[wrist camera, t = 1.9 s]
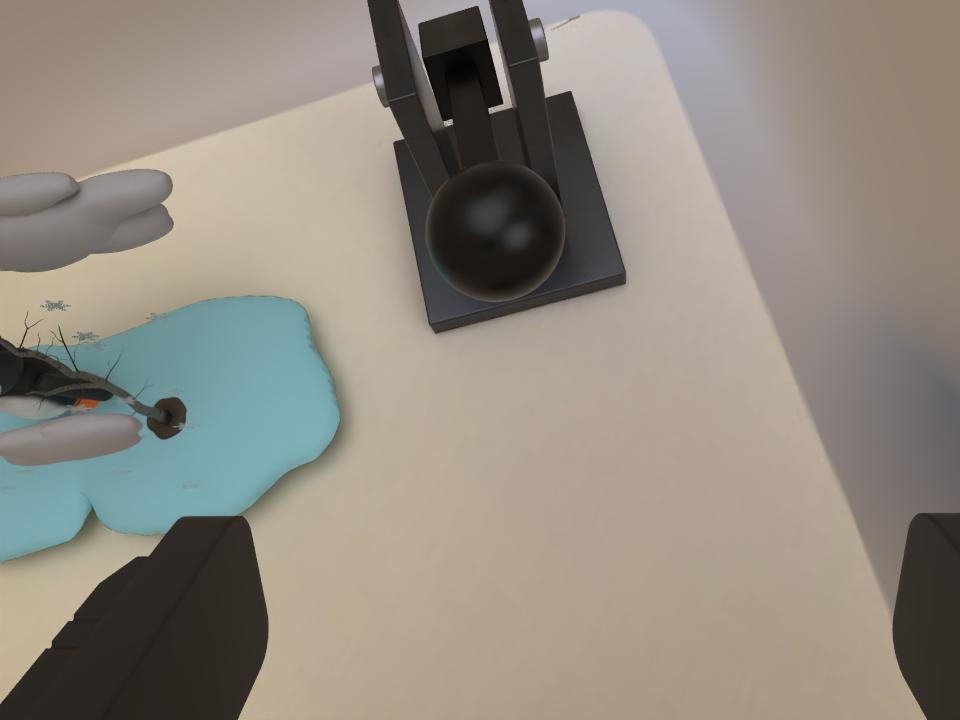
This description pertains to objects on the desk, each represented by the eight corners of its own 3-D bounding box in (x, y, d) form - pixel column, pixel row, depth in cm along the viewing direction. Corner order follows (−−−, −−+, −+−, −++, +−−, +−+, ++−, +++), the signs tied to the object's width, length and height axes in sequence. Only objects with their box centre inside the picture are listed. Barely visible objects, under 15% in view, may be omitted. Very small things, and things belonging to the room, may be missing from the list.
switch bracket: (626, 284, 35) (625, 112, 24) (434, 334, 36) (340, 193, 24) (572, 105, 39) (548, -124, 27) (399, 155, 40) (300, -46, 28)
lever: (587, 309, 20) (564, 194, 18) (453, 345, 20) (410, 237, 18) (515, 78, 29) (493, -19, 27) (423, 105, 30) (393, 12, 27)
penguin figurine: (-52, 576, 37) (-475, 548, 23) (-33, 363, 40) (-388, 224, 26) (357, 508, 34) (167, 428, 20) (338, 287, 38) (167, 89, 24)
